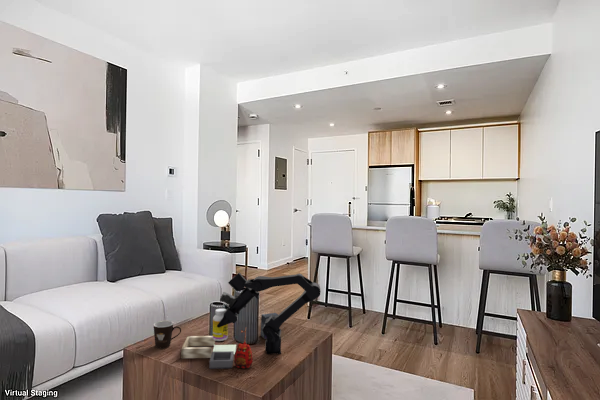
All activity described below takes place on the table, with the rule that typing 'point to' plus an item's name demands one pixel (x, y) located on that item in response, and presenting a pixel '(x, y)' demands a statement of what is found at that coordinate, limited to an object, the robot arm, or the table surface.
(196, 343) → the wooden tray
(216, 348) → the pad
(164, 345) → the coffee mug
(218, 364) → the box
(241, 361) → the red clay folk toy
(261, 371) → the table surface
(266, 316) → the box
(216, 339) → the supplement bottle
